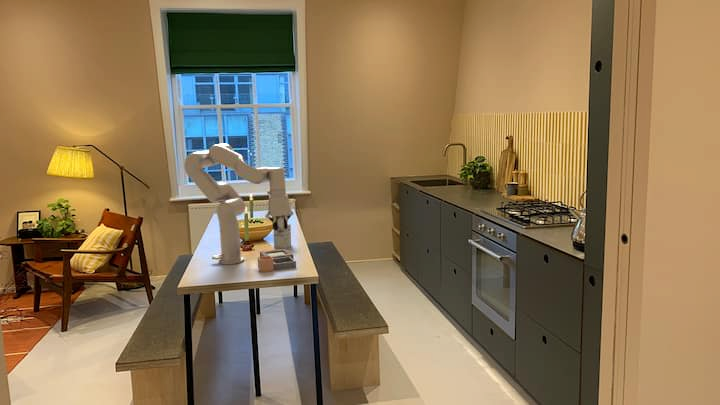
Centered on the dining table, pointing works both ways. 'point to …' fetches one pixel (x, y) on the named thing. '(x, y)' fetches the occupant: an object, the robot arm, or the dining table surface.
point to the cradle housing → (287, 254)
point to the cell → (280, 224)
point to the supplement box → (283, 238)
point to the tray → (284, 263)
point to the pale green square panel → (276, 254)
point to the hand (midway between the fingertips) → (280, 229)
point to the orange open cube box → (265, 264)
